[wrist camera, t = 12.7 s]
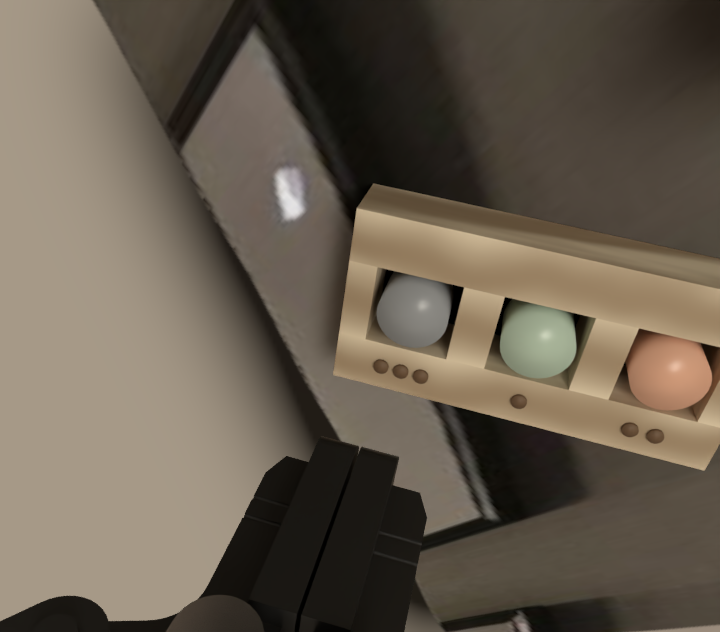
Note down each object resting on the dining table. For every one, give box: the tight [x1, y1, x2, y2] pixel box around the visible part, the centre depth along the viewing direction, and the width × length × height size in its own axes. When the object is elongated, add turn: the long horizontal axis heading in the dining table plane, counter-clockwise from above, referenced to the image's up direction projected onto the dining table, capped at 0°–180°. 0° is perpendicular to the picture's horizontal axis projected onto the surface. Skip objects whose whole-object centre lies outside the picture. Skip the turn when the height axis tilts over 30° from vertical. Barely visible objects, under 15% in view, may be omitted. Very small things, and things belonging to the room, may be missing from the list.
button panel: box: [333, 183, 720, 470], centre depth 38 cm, size 11×22×4 cm, turn 82°
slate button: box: [377, 271, 454, 348], centre depth 38 cm, size 4×4×3 cm
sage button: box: [500, 299, 576, 378], centre depth 37 cm, size 4×4×3 cm
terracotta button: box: [625, 328, 712, 410], centre depth 36 cm, size 4×4×3 cm
